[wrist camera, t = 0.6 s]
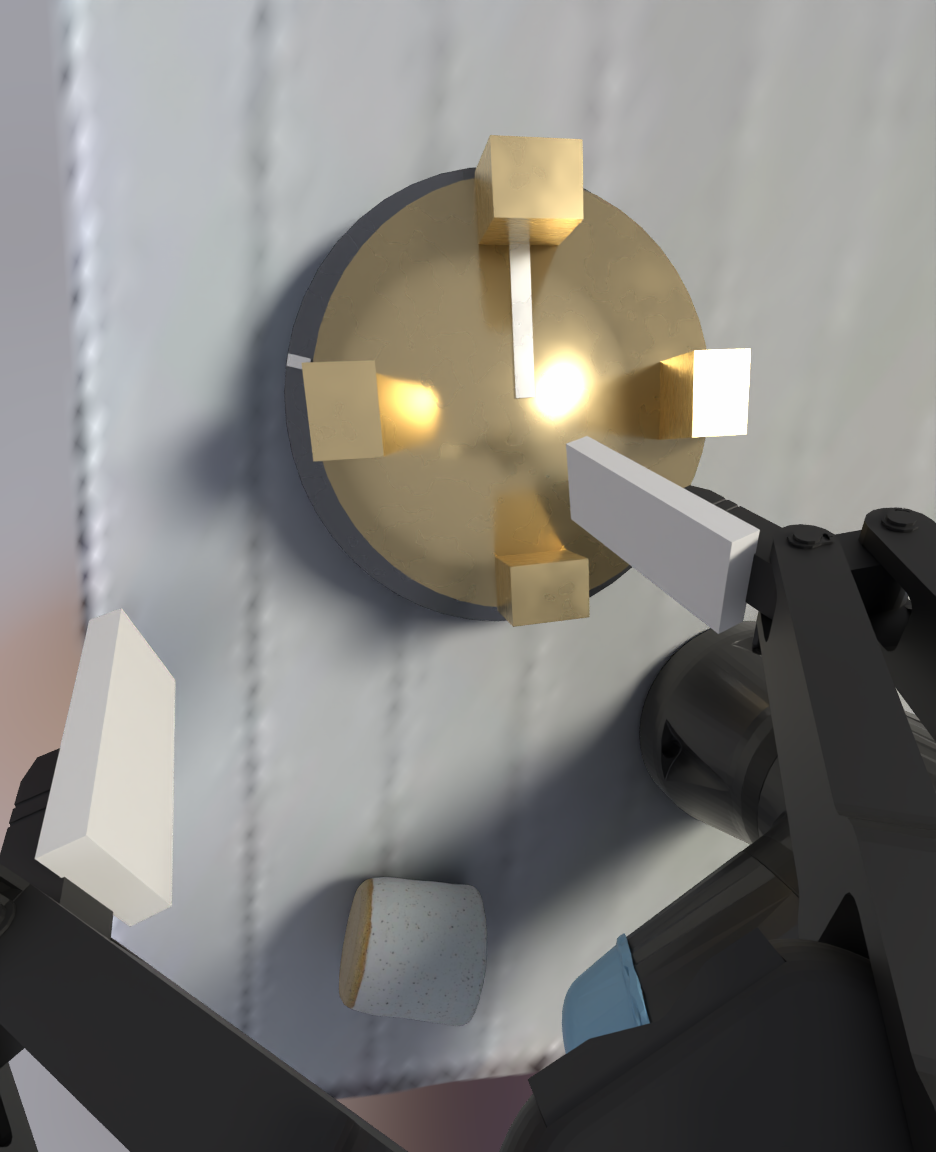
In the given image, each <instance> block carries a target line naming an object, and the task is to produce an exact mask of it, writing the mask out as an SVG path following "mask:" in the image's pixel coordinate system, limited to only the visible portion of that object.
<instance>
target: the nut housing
mask: <svg viewBox="0 0 936 1152" xmlns="http://www.w3.org/2000/svg"><path fill="white" fill-rule="evenodd" d="M475 170H476V168H467V169H462V170H457V171H452V172H447V173H442V174H439V175H436V176H433V177H430V178H428V179H425V180H422V181H420V182H417V183H414V184H411V185H410V186H408V187H406V188H404V189H402V190H401V191H399V192H397V193H395V194H393V195H392V196H390V197H388V198H386V199H384V200H383V201H382V202H380V203H379V204H378V205H377V206H375V207H374V208H373V209H371V210H370V211H369V212H368V213H366V214H365V215H364V216H362V217H361V218H360V219H359V220H358V221H357V222H356V223H355V224H354V225H353V226H352V227H351V228H350V229H349V230H348V231H347V232H346V233H345V234H344V235H343V236H342V237H341V239H340V240H339V241H338V242H337V243H336V244H335V246H334V247H333V249H332V250H331V251H330V253H329V254H328V256H327V257H326V258H325V260H324V261H323V263H322V264H321V266H320V267H319V268H318V270H317V272H316V274H315V276H314V278H313V280H312V282H311V284H310V286H309V288H308V290H307V292H306V294H305V296H304V298H303V301H302V304H301V306H300V309H299V312H298V315H297V318H296V321H295V324H294V326H293V330H292V335H291V340H290V345H289V350H288V355H287V360H286V375H285V390H284V394H285V410H286V424H287V429H288V434H289V440H290V445H291V450H292V455H293V458H294V461H295V464H296V467H297V470H298V473H299V476H300V479H301V482H302V485H303V487H304V489H305V491H306V493H307V495H308V497H309V499H310V501H311V503H312V505H313V507H314V509H315V511H316V513H317V514H318V516H319V517H320V519H321V521H322V522H323V524H324V525H325V527H326V528H327V530H328V531H329V533H330V534H331V536H332V537H333V538H334V539H335V541H336V542H337V543H338V544H339V545H340V546H341V548H342V549H343V550H344V551H345V552H346V553H347V555H348V556H349V557H350V558H351V559H352V560H353V561H354V562H355V563H357V564H358V565H359V566H360V567H361V568H362V569H363V570H364V571H365V572H367V573H368V574H369V575H370V576H371V577H372V578H374V579H375V580H377V581H378V582H380V583H381V584H382V585H384V586H385V587H387V588H388V589H390V590H391V591H393V592H394V593H396V594H398V595H400V596H402V597H404V598H406V599H408V600H410V601H412V602H414V603H416V604H418V605H420V606H423V607H426V608H429V609H431V610H434V611H437V612H440V613H443V614H447V615H452V616H457V617H461V618H466V619H474V620H488V621H504V620H506V619H505V618H504V617H503V616H502V615H501V614H500V613H499V612H498V607H492V606H483V605H478V604H473V603H469V602H464V601H460V600H457V599H454V598H451V597H449V596H446V595H443V594H440V593H438V592H435V591H433V590H431V589H430V588H428V587H426V586H424V585H422V584H420V583H418V582H416V581H414V580H413V579H411V578H410V577H408V576H407V575H405V574H404V573H403V572H401V571H400V570H398V569H397V568H395V567H394V566H393V565H391V564H390V563H389V562H388V561H387V560H386V559H385V558H384V557H383V556H382V555H381V554H379V553H378V552H377V551H376V550H375V549H374V548H373V547H372V546H371V545H370V544H369V542H368V541H367V540H366V539H365V538H364V536H363V535H362V534H361V533H360V532H359V530H358V529H357V528H356V527H355V526H354V524H353V522H352V521H351V519H350V518H349V516H348V515H347V513H346V511H345V510H344V508H343V507H342V505H341V504H340V502H339V500H338V498H337V496H336V494H335V491H334V489H333V487H332V485H331V483H330V481H329V479H328V477H327V474H326V471H325V467H324V464H323V461H313V453H312V445H311V437H310V429H309V421H308V412H307V404H306V396H305V388H304V379H303V371H302V363H305V362H313V357H314V352H315V348H316V343H317V338H318V333H319V329H320V325H321V322H322V320H323V317H324V314H325V311H326V308H327V305H328V303H329V300H330V297H331V295H332V293H333V292H334V290H335V288H336V286H337V284H338V282H339V280H340V278H341V276H342V274H343V272H344V270H345V269H346V268H347V266H348V265H349V263H350V262H351V261H352V259H353V258H354V256H355V255H356V254H357V252H358V251H359V249H360V248H361V247H362V245H363V244H364V243H365V242H366V241H367V240H368V239H369V238H370V237H371V236H372V235H373V234H374V233H375V232H376V231H377V230H378V229H379V228H380V227H381V225H382V224H384V223H385V222H386V221H387V220H389V219H390V218H391V217H393V216H394V215H395V214H396V213H398V212H399V211H400V210H402V209H403V208H404V207H405V206H407V205H409V204H410V203H412V202H414V201H416V200H418V199H419V198H421V197H423V196H425V195H426V194H428V193H430V192H432V191H434V190H437V189H440V188H442V187H445V186H448V185H450V184H453V183H456V182H459V181H463V180H468V179H472V178H475ZM583 190H585V191H588V190H586V189H584V188H583ZM588 192H589V191H588ZM590 193H591V192H590ZM630 568H632V566H631V565H629V566H628V567H626V568H625V569H624V570H623V571H622V572H620V573H619V574H617V575H615V576H614V577H612V578H611V579H609V580H607V581H606V582H604V583H603V584H601V585H599V586H597V587H595V588H593V589H591V590H589V597H591V596H593V595H595V594H596V593H598V592H599V591H601V590H602V589H604V588H606V587H607V586H609V585H610V584H612V583H613V582H615V581H616V580H617V579H618V578H619V577H621V576H622V575H623V574H624V573H626V572H627V571H628V570H629V569H630Z"/></svg>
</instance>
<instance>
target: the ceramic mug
mask: <svg viewBox="0 0 936 1152" xmlns="http://www.w3.org/2000/svg"><path fill="white" fill-rule="evenodd" d="M486 946H487V927H486V918H485V912H484V907H483V901H482V899H481V896H480V894H479V892H478V890H477V889H476V888H475V887H473V886H470V885H464V884H450V883H443V882H432V881H419V880H408V879H402V878H392V877H379V878H371V879H367V880H366V881H364V882H363V883H362V884H361V885H360V886H359V887H358V889H357V891H356V893H355V896H354V899H353V903H352V906H351V910H350V914H349V918H348V923H347V928H346V933H345V938H344V943H343V950H342V957H341V964H340V973H339V994H340V998H341V999H342V1001H343V1003H344V1005H346V1006H347V1007H349V1008H351V1009H353V1010H356V1011H360V1012H363V1013H367V1014H370V1015H375V1016H385V1017H398V1018H406V1019H413V1020H419V1021H426V1022H433V1023H440V1024H446V1025H453V1026H463V1025H465V1024H467V1023H468V1022H469V1021H470V1020H471V1019H472V1017H473V1015H474V1013H475V1011H476V1008H477V1005H478V1003H479V999H480V994H481V990H482V986H483V982H484V976H485V970H486V960H487V948H486Z"/></svg>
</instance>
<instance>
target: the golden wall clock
mask: <svg viewBox="0 0 936 1152" xmlns="http://www.w3.org/2000/svg"><path fill="white" fill-rule="evenodd" d="M749 369H750V349H729V350H706V345H705V341H704V337H703V333H702V329H701V325H700V321H699V318H698V316H697V313H696V311H695V308H694V305H693V303H692V300H691V298H690V295H689V293H688V291H687V289H686V287H685V286H684V284H683V282H682V280H681V278H680V276H679V274H678V272H677V271H676V269H675V268H674V266H673V265H672V263H671V262H670V261H669V259H668V258H667V256H666V255H665V254H664V252H663V251H662V249H661V248H660V247H659V246H658V245H657V244H656V243H655V241H654V240H653V239H652V238H651V237H650V236H649V235H648V234H647V233H646V232H645V231H644V230H643V228H642V227H640V226H639V225H638V224H637V223H636V222H634V221H633V220H632V219H631V218H629V217H628V216H627V215H626V214H625V213H623V212H622V211H621V210H620V209H618V208H616V207H615V206H613V205H611V204H610V203H608V202H607V201H605V200H603V199H602V198H600V197H599V196H597V195H595V194H592V193H590V192H588V191H585V190H583V155H582V139H562V138H540V137H518V136H496V135H490V137H489V139H488V142H487V144H486V146H485V149H484V151H483V154H482V156H481V158H480V161H479V163H478V166H477V168H476V170H475V178H472V179H468V180H463V181H459V182H456V183H453V184H450V185H448V186H445V187H442V188H440V189H437V190H434V191H432V192H430V193H428V194H426V195H425V196H423V197H421V198H419V199H418V200H416V201H414V202H412V203H410V204H409V205H407V206H405V207H404V208H403V209H402V210H400V211H399V212H398V213H396V214H395V215H394V216H393V217H391V218H390V219H389V220H387V221H386V222H385V223H384V224H382V225H381V227H380V228H379V229H378V230H377V231H376V232H375V233H374V234H373V235H372V236H371V237H370V238H369V239H368V240H367V241H366V242H365V243H364V244H363V245H362V247H361V248H360V249H359V251H358V252H357V254H356V255H355V256H354V258H353V259H352V261H351V262H350V263H349V265H348V266H347V268H346V269H345V270H344V272H343V274H342V276H341V278H340V280H339V282H338V284H337V286H336V288H335V290H334V292H333V293H332V295H331V297H330V300H329V303H328V305H327V308H326V311H325V314H324V317H323V320H322V322H321V325H320V329H319V333H318V338H317V343H316V348H315V352H314V357H313V362H305V363H302V371H303V379H304V388H305V396H306V404H307V412H308V421H309V429H310V437H311V445H312V453H313V461H323V464H324V467H325V471H326V474H327V477H328V479H329V481H330V483H331V485H332V487H333V489H334V491H335V494H336V496H337V498H338V500H339V502H340V504H341V505H342V507H343V508H344V510H345V511H346V513H347V515H348V516H349V518H350V519H351V521H352V522H353V524H354V526H355V527H356V528H357V529H358V530H359V532H360V533H361V534H362V535H363V536H364V538H365V539H366V540H367V541H368V542H369V544H370V545H371V546H372V547H373V548H374V549H375V550H376V551H377V552H378V553H379V554H381V555H382V556H383V557H384V558H385V559H386V560H387V561H388V562H389V563H390V564H391V565H393V566H394V567H395V568H397V569H398V570H400V571H401V572H403V573H404V574H405V575H407V576H408V577H410V578H411V579H413V580H414V581H416V582H418V583H420V584H422V585H424V586H426V587H428V588H430V589H431V590H433V591H435V592H438V593H440V594H443V595H446V596H449V597H451V598H454V599H457V600H460V601H464V602H469V603H473V604H478V605H483V606H492V607H498V612H499V613H500V614H501V615H502V616H503V617H504V618H505V619H506V620H507V621H508V622H509V623H510V624H511V625H512V626H513V627H515V626H523V625H531V624H539V623H547V622H555V621H563V620H571V619H579V618H587V617H589V590H591V589H593V588H595V587H597V586H599V585H601V584H603V583H604V582H606V581H607V580H609V579H611V578H612V577H614V576H615V575H617V574H619V573H620V572H622V571H623V570H624V569H625V568H626V567H628V566H629V564H628V563H627V562H626V561H624V560H623V559H622V558H620V557H619V556H618V555H617V554H615V553H614V552H613V551H611V550H610V549H609V548H608V547H606V546H605V545H604V544H602V543H601V542H600V541H599V540H597V539H596V538H595V537H593V536H592V535H591V534H590V533H588V532H587V531H586V530H585V529H583V528H582V527H581V526H579V525H578V524H577V523H576V522H574V521H573V520H572V519H571V511H570V496H569V481H568V466H567V451H566V444H567V443H569V442H572V441H575V440H577V439H580V438H583V437H585V436H588V437H590V438H592V439H594V440H596V441H597V442H599V443H601V444H603V445H605V446H607V447H609V448H610V449H612V450H614V451H616V452H618V453H620V454H621V455H623V456H625V457H627V458H629V459H631V460H632V461H634V462H636V463H638V464H640V465H642V466H643V467H645V468H647V469H649V470H651V471H653V472H654V473H656V474H658V475H660V476H662V477H664V478H666V479H667V480H669V481H671V482H673V483H675V484H677V485H678V486H680V487H682V488H685V487H687V486H689V485H691V482H692V480H693V478H694V476H695V473H696V470H697V467H698V464H699V461H700V457H701V454H702V451H703V447H704V442H705V437H713V436H727V435H741V434H747V412H748V391H749Z"/></svg>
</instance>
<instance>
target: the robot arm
mask: <svg viewBox="0 0 936 1152" xmlns="http://www.w3.org/2000/svg"><path fill="white" fill-rule="evenodd" d="M566 451H567V466H568V481H569V496H570V511H571V519H572V520H573V521H574V522H576V523H577V524H578V525H579V526H581V527H582V528H583V529H585V530H586V531H587V532H588V533H590V534H591V535H592V536H593V537H595V538H596V539H597V540H599V541H600V542H601V543H602V544H604V545H605V546H606V547H608V548H609V549H610V550H611V551H613V552H614V553H615V554H617V555H618V556H619V557H620V558H622V559H623V560H624V561H626V562H627V563H628V564H629V565H631V566H632V567H633V568H635V569H636V570H637V571H638V572H640V573H641V574H642V575H643V576H645V577H646V578H647V579H649V580H650V581H651V582H652V583H654V584H655V585H656V586H658V587H659V588H660V589H661V590H663V591H664V592H665V593H667V594H668V595H669V596H670V597H672V598H673V599H674V600H676V601H677V602H678V603H679V604H681V605H682V606H683V607H684V608H686V609H687V610H688V611H690V612H691V613H692V614H693V615H695V616H696V617H697V618H699V619H700V620H701V621H702V622H704V623H705V624H706V625H708V626H709V627H710V628H711V629H710V630H708V631H706V632H704V633H702V634H700V635H698V636H697V637H695V638H694V639H692V640H691V641H689V642H688V643H687V644H685V645H684V646H683V647H682V648H681V649H680V650H678V651H677V652H676V653H675V654H674V655H673V656H672V657H671V659H670V660H669V661H668V662H667V663H666V664H665V666H664V667H663V668H662V670H661V671H660V673H659V674H658V676H657V677H656V679H655V681H654V683H653V684H652V686H651V688H650V691H649V693H648V695H647V698H646V701H645V704H644V707H643V711H642V716H641V722H640V746H641V752H642V756H643V760H644V763H645V765H646V768H647V770H648V772H649V774H650V776H651V777H652V779H653V780H654V782H655V783H656V784H657V785H658V786H659V787H660V788H661V790H662V791H663V792H664V793H665V794H666V795H667V796H668V797H669V798H670V799H671V800H672V801H673V802H674V803H675V804H676V805H677V806H678V807H679V808H680V809H682V810H683V811H685V812H686V813H687V814H689V815H690V816H692V817H694V818H696V819H698V820H700V821H702V822H704V823H706V824H708V825H711V826H713V827H715V828H717V829H719V830H721V831H723V832H725V833H727V834H729V835H732V836H734V837H736V838H738V839H740V840H742V841H744V842H746V843H748V844H751V845H749V846H748V847H747V848H745V849H744V850H743V851H741V852H739V853H738V854H737V855H735V856H734V857H733V858H731V859H730V860H729V861H727V862H726V863H725V864H723V865H722V866H721V867H719V868H718V869H717V870H715V871H714V872H713V873H711V874H710V875H708V876H707V877H706V878H704V879H703V880H702V881H700V882H699V883H698V884H696V885H695V886H694V887H692V888H691V889H690V890H688V891H687V892H686V893H684V894H683V895H682V896H680V897H679V898H678V899H676V900H675V901H674V902H672V903H671V904H670V905H668V906H667V907H666V908H664V909H663V910H662V911H660V912H659V913H658V914H656V915H655V916H654V917H652V918H651V919H650V920H648V921H647V922H646V923H644V924H643V925H642V926H640V927H639V928H638V929H636V930H635V931H634V932H632V933H631V934H630V935H628V936H627V937H626V935H625V934H624V933H623V934H622V935H620V936H619V937H618V938H617V942H616V945H615V946H614V947H613V948H612V949H611V950H609V951H608V952H607V953H606V954H605V955H603V956H602V957H601V958H600V959H599V960H598V961H596V962H595V963H594V964H593V965H592V966H591V967H589V968H588V969H587V970H586V971H585V972H583V973H582V974H581V975H580V976H579V977H578V978H577V979H576V980H575V981H574V982H573V983H572V985H571V986H570V988H569V990H568V992H567V994H566V996H565V1000H564V1004H563V1010H562V1032H563V1041H564V1047H565V1052H566V1054H565V1055H564V1056H562V1057H561V1058H559V1059H558V1060H556V1061H555V1062H553V1063H552V1064H550V1065H549V1066H547V1067H546V1068H544V1069H543V1070H541V1071H540V1072H538V1073H537V1074H535V1075H534V1076H532V1077H531V1078H529V1079H528V1081H529V1084H530V1086H531V1089H532V1091H533V1094H532V1096H531V1097H530V1098H529V1099H528V1101H527V1102H526V1103H525V1105H524V1106H523V1107H522V1109H521V1110H520V1112H519V1113H518V1115H517V1117H516V1118H515V1120H514V1122H513V1124H512V1125H511V1127H510V1129H509V1131H508V1133H507V1135H506V1138H505V1140H504V1142H503V1144H502V1146H501V1149H500V1151H499V1152H936V523H935V522H934V521H933V520H932V519H930V518H928V517H927V516H925V515H923V514H921V513H918V512H915V511H912V510H910V509H905V508H904V509H902V508H881V509H877V510H873V511H871V512H870V513H868V514H867V515H866V518H865V521H864V524H863V527H862V530H859V531H853V532H847V533H842V534H836V535H834V534H833V533H831V532H829V531H828V530H826V529H823V528H820V527H816V526H812V525H803V524H799V525H789V526H786V527H783V528H781V527H780V526H778V525H776V524H774V523H772V522H770V521H768V520H766V519H764V518H762V517H760V516H758V515H756V514H755V513H753V512H751V511H749V510H747V509H745V508H743V507H741V506H740V507H738V506H737V504H735V503H733V502H732V501H730V500H725V498H724V497H722V496H720V495H718V494H716V493H714V492H712V491H710V490H707V489H703V488H699V487H694V486H690V485H689V486H687V487H685V488H682V487H680V486H678V485H677V484H675V483H673V482H671V481H669V480H667V479H666V478H664V477H662V476H660V475H658V474H656V473H654V472H653V471H651V470H649V469H647V468H645V467H643V466H642V465H640V464H638V463H636V462H634V461H632V460H631V459H629V458H627V457H625V456H623V455H621V454H620V453H618V452H616V451H614V450H612V449H610V448H609V447H607V446H605V445H603V444H601V443H599V442H597V441H596V440H594V439H592V438H590V437H588V436H585V437H583V438H580V439H577V440H575V441H572V442H569V443H567V444H566ZM908 596H909V598H910V600H909V599H908ZM746 603H748V604H749V605H751V606H752V607H754V608H755V609H757V610H758V616H757V621H756V622H755V621H743V619H744V613H745V608H746ZM895 687H896V688H895ZM896 689H897V690H898V691H899V693H900V694H901V695H902V697H903V698H904V700H905V701H906V702H907V704H908V705H909V706H910V708H911V709H912V710H913V712H914V713H915V715H914V714H911V713H909V712H907V711H904V709H903V706H902V704H901V701H900V698H899V696H898V693H897V691H896ZM174 731H175V679H174V678H173V676H172V675H171V674H170V672H169V671H168V670H167V668H166V667H165V666H164V664H163V663H162V662H161V660H160V659H159V658H158V656H157V655H156V654H155V652H154V651H153V650H152V648H151V647H150V646H149V644H148V643H147V642H146V640H145V639H144V638H143V636H142V635H141V634H140V632H139V631H138V630H137V628H136V627H135V626H134V624H133V623H132V622H131V620H130V619H129V618H128V616H127V615H126V613H125V612H124V611H123V609H122V608H120V609H118V610H115V611H112V612H110V613H107V614H104V615H101V616H99V617H96V618H93V619H91V620H89V625H88V629H87V633H86V638H85V642H84V646H83V651H82V655H81V659H80V664H79V668H78V673H77V677H76V681H75V686H74V690H73V694H72V699H71V703H70V708H69V712H68V716H67V721H66V725H65V729H64V733H63V738H62V742H61V746H60V748H59V749H57V750H54V751H52V752H49V753H47V754H45V755H42V756H40V757H37V759H36V760H35V762H34V763H33V765H32V766H31V768H30V769H29V770H28V772H27V773H26V775H25V776H24V778H23V779H22V781H21V783H20V787H19V790H18V794H17V797H16V801H15V806H16V808H14V809H13V811H12V815H11V818H10V822H9V824H10V827H9V828H8V829H7V832H6V836H5V839H4V843H3V846H2V850H1V853H0V1152H38V1150H37V1147H36V1144H35V1141H34V1138H33V1135H32V1132H31V1129H30V1126H29V1123H28V1120H27V1117H26V1114H25V1111H24V1108H23V1105H22V1102H21V1099H20V1096H19V1093H18V1090H17V1087H16V1084H15V1081H14V1078H13V1075H12V1072H11V1069H10V1066H9V1063H8V1062H9V1061H10V1060H11V1059H12V1058H13V1057H14V1056H15V1055H17V1054H18V1053H19V1052H20V1051H21V1050H23V1049H24V1048H26V1050H27V1051H28V1052H30V1053H31V1055H32V1056H33V1057H34V1058H36V1059H37V1060H38V1061H39V1062H40V1063H41V1064H42V1065H43V1066H44V1067H45V1068H46V1069H47V1070H48V1071H49V1072H50V1073H51V1074H52V1075H53V1076H54V1077H55V1078H56V1079H57V1080H58V1081H59V1082H60V1083H61V1084H62V1085H63V1086H64V1087H65V1088H66V1089H67V1090H68V1091H69V1092H70V1093H71V1094H72V1095H73V1096H74V1097H75V1098H76V1099H77V1100H78V1101H79V1102H80V1103H81V1104H82V1105H83V1106H84V1107H85V1108H86V1109H87V1110H88V1111H89V1112H90V1113H91V1114H92V1115H93V1116H94V1117H95V1118H97V1120H98V1121H99V1122H100V1123H102V1124H103V1125H104V1126H105V1127H106V1128H107V1129H108V1130H109V1131H110V1132H111V1133H112V1134H113V1135H114V1136H115V1137H116V1138H117V1139H118V1140H119V1141H120V1142H121V1143H122V1144H123V1145H124V1146H125V1147H126V1148H127V1149H128V1150H129V1151H130V1152H408V1151H406V1150H405V1149H403V1148H402V1147H401V1146H399V1145H398V1144H396V1143H395V1142H394V1141H392V1140H391V1139H390V1138H388V1137H387V1136H385V1135H384V1134H383V1133H381V1132H380V1131H379V1130H377V1129H376V1128H374V1127H373V1126H371V1125H370V1124H369V1123H367V1122H366V1121H364V1120H363V1119H362V1118H361V1117H359V1116H358V1115H356V1114H355V1113H354V1112H352V1111H351V1110H350V1109H348V1108H347V1107H345V1106H344V1105H343V1104H341V1103H340V1102H338V1101H337V1100H336V1099H334V1098H333V1097H332V1096H330V1095H329V1094H327V1093H326V1092H325V1091H323V1090H322V1089H320V1088H319V1087H318V1086H316V1085H315V1084H314V1083H312V1082H311V1081H309V1080H308V1079H307V1078H305V1077H304V1076H303V1075H301V1074H300V1073H298V1072H297V1071H296V1070H294V1069H293V1068H291V1067H290V1066H289V1065H287V1064H286V1063H285V1062H283V1061H282V1060H280V1059H279V1058H278V1057H276V1056H275V1055H273V1054H272V1053H271V1052H269V1051H268V1050H267V1049H265V1048H264V1047H262V1046H261V1045H260V1044H258V1043H257V1042H255V1041H254V1040H253V1039H251V1038H250V1037H249V1036H247V1035H246V1034H244V1033H243V1032H242V1031H240V1030H239V1029H238V1028H236V1027H235V1026H233V1025H232V1024H231V1023H229V1022H228V1021H226V1020H225V1019H224V1018H222V1017H221V1016H220V1015H218V1014H217V1013H215V1012H214V1011H213V1010H211V1009H210V1008H208V1007H207V1006H206V1005H204V1004H203V1003H202V1002H200V1001H199V1000H197V999H196V998H195V997H193V996H192V995H191V994H189V993H188V992H186V991H185V990H184V989H182V988H181V987H179V986H178V985H177V984H175V983H174V982H173V981H171V980H170V979H168V978H167V977H166V976H164V975H163V974H161V973H160V972H159V971H157V970H156V969H155V968H153V967H152V966H150V965H149V964H148V963H146V962H145V961H143V960H142V959H141V958H139V957H138V956H137V955H135V954H134V953H132V952H131V951H130V950H128V949H127V948H126V947H124V946H123V945H121V944H120V943H119V942H117V941H116V940H114V939H113V938H111V930H112V920H113V915H114V916H116V917H117V918H118V919H120V920H121V921H123V922H124V923H125V924H127V925H128V926H130V927H131V926H133V925H135V924H137V923H139V922H141V921H143V920H145V919H147V918H149V917H151V916H153V915H155V914H157V913H159V912H161V911H163V910H165V909H167V908H169V907H171V906H172V862H173V796H174Z"/></svg>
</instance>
